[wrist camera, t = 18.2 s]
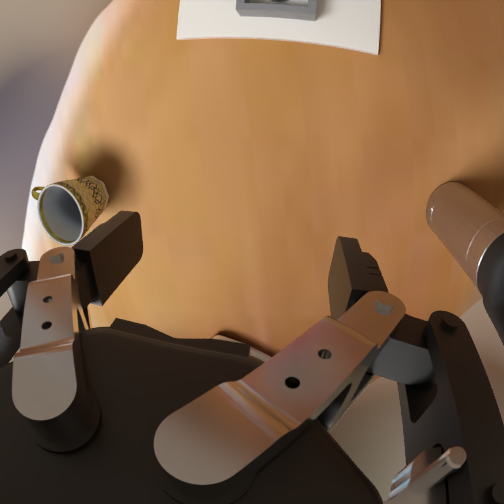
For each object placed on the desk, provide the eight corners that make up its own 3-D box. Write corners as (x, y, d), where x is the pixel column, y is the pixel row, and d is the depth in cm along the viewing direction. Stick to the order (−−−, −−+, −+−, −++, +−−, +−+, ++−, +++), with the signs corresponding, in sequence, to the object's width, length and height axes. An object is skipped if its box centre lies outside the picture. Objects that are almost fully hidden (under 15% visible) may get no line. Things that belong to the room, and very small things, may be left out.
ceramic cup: (124, 182, 46) (89, 203, 38) (108, 229, 51) (77, 257, 42) (68, 150, 45) (30, 165, 36) (57, 197, 49) (23, 218, 41)
